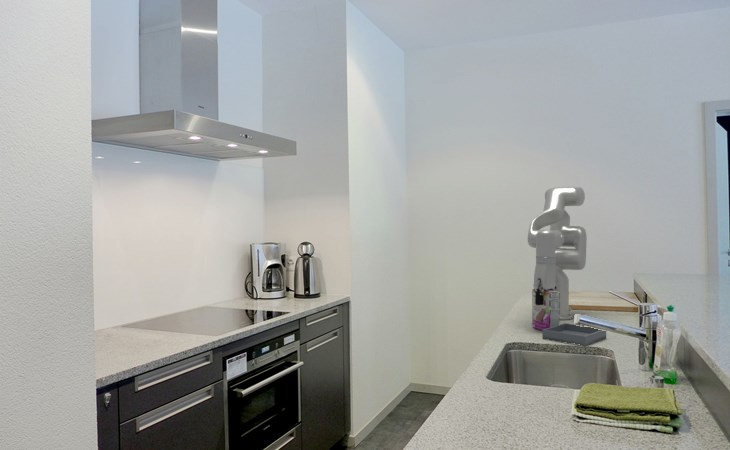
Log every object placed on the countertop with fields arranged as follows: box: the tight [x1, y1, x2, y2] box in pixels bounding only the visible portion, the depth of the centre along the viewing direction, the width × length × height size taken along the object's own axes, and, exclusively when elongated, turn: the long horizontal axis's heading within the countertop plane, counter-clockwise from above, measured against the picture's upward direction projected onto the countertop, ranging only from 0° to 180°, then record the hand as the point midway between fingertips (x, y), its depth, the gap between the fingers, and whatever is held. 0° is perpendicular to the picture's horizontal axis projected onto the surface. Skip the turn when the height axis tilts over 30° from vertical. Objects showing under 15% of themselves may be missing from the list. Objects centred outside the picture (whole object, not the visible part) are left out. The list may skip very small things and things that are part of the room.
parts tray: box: [542, 322, 607, 347], centre depth 208 cm, size 18×16×4 cm
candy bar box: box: [531, 288, 560, 332], centre depth 223 cm, size 11×5×16 cm, turn 22°
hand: (545, 303), depth 222 cm, fingers open, 9 cm apart
